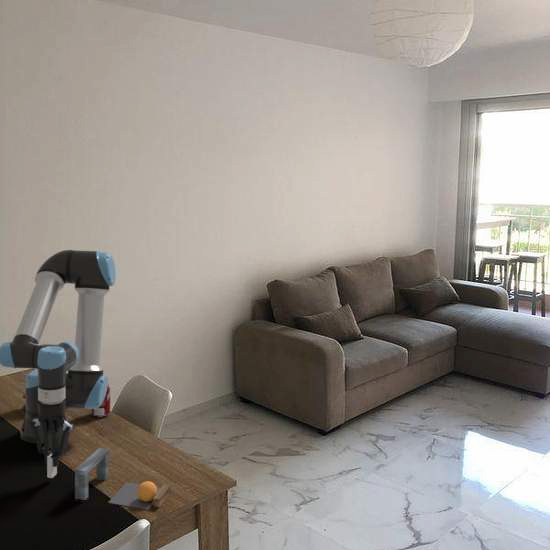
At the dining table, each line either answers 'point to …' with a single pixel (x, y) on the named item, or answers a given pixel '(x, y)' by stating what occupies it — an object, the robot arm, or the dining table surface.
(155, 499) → the stopper wall
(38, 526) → the dining table surface
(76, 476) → the bridge
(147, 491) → the ball
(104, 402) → the soda can
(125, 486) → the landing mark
